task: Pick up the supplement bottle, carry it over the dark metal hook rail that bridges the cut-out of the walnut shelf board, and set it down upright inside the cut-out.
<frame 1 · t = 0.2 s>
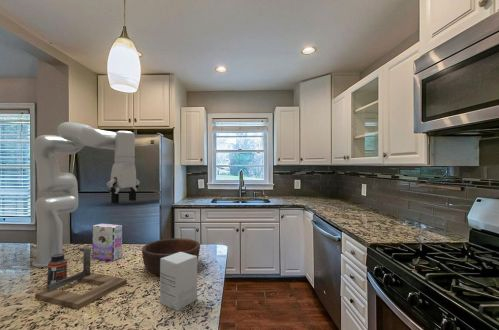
hand: (124, 201, 108), 31 cm above the countertop, fingers open, 9 cm apart
supplement bottle: (57, 285, 99), on the countertop
supplement box: (178, 302, 87), on the countertop
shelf: (83, 290, 94), on the countertop
candy box: (107, 258, 129), on the countertop
wooden bowl: (171, 268, 116), on the countertop
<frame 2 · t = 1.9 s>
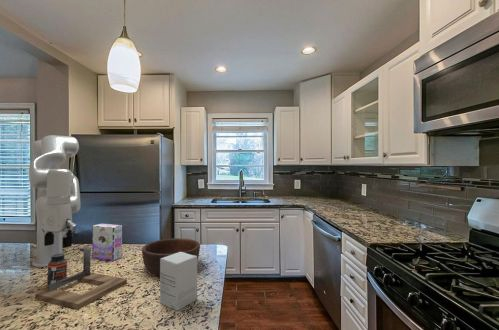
hand: (57, 246, 99), 15 cm above the countertop, fingers open, 9 cm apart
nothing on the countertop moved.
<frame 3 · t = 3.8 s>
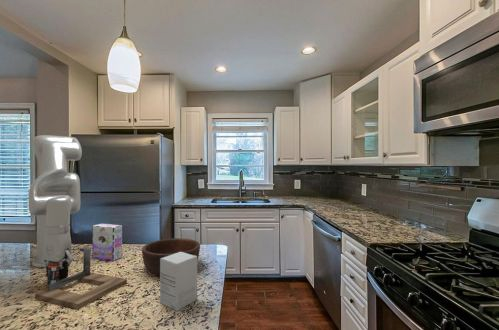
hand: (57, 276, 99), 3 cm above the countertop, fingers closed on supplement bottle, 6 cm apart
supplement bottle: (57, 285, 99), on the countertop, touching gripper
everything else where it was.
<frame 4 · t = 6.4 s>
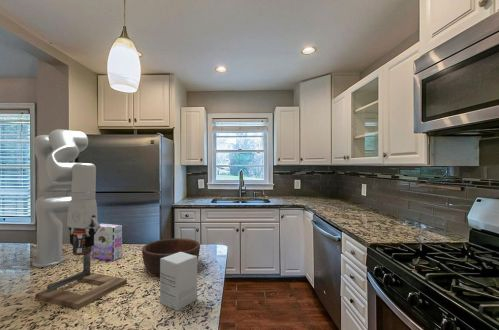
hand: (82, 245, 95), 16 cm above the countertop, fingers closed on supplement bottle, 6 cm apart
supplement bottle: (82, 254, 95), point 13 cm above the countertop, touching gripper
everything else where it was.
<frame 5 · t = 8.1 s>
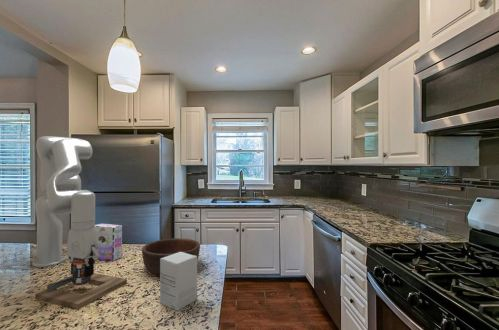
hand: (82, 274, 95), 6 cm above the countertop, fingers closed on supplement bottle, 6 cm apart
supplement bottle: (81, 283, 95), point 2 cm above the countertop, touching gripper
everything else where it was.
when the fingers open (5 cm above the countertop, at t = 9.2 s): supplement bottle drops 2 cm, resting in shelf.
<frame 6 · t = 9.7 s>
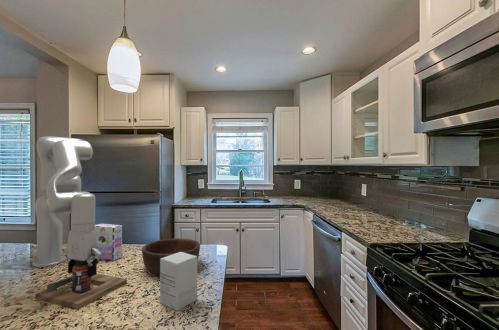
hand: (82, 274, 95), 6 cm above the countertop, fingers open, 9 cm apart
supplement bottle: (81, 290, 95), resting in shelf
everything else where it was.
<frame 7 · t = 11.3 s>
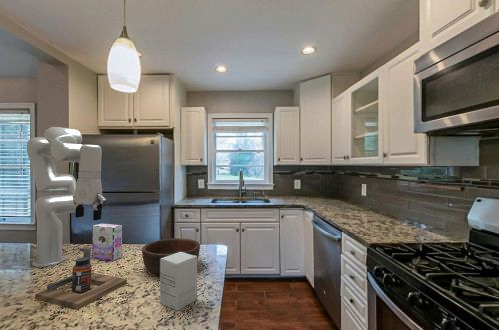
hand: (88, 218, 103), 25 cm above the countertop, fingers open, 9 cm apart
nothing on the countertop moved.
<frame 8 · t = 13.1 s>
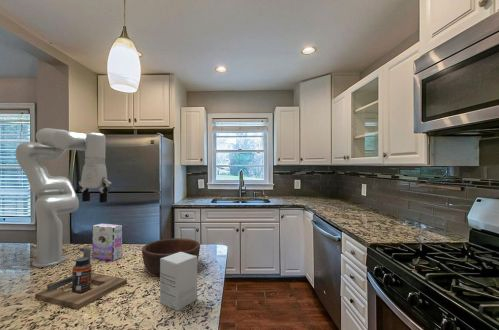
hand: (94, 201, 111), 30 cm above the countertop, fingers open, 9 cm apart
nothing on the countertop moved.
at the end: supplement bottle inside the target area on the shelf (0.3 cm from its centre), point 0.0 cm above the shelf's base; supplement bottle tilted 0°; the gripper is holding nothing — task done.
